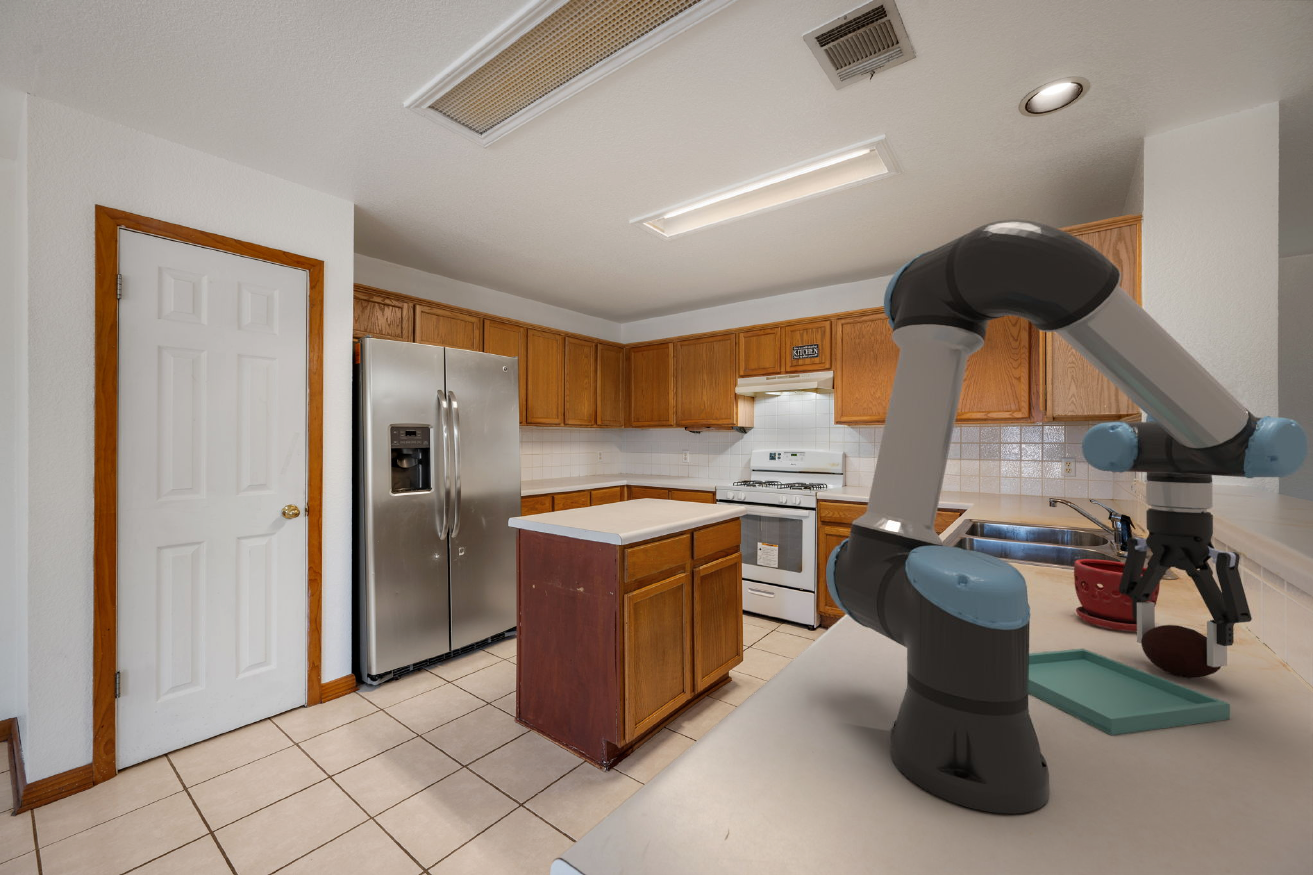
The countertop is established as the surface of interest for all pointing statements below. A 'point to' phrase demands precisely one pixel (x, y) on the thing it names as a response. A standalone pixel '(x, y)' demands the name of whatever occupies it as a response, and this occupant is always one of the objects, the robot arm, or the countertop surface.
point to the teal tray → (1117, 693)
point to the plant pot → (1105, 595)
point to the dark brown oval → (1178, 651)
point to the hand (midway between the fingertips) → (1179, 653)
